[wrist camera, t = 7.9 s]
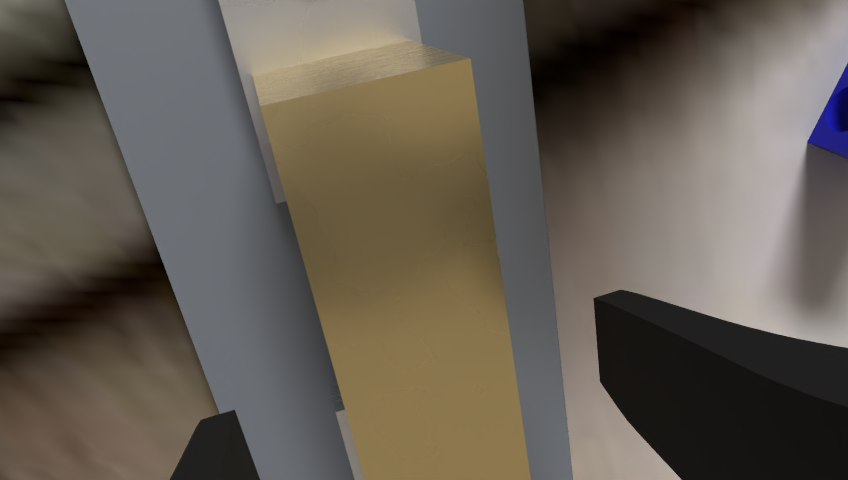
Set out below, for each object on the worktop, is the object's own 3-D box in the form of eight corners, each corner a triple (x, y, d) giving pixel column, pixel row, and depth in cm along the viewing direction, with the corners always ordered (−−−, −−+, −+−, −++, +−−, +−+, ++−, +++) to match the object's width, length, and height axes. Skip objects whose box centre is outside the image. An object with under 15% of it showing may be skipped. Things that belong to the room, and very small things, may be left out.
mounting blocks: (372, 539, 21) (381, 575, 19) (196, -81, 13) (192, -88, 12) (489, 497, 21) (505, 529, 20) (381, -112, 14) (396, -122, 13)
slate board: (285, 569, 22) (287, 594, 21) (36, -105, 13) (22, -112, 13) (560, 471, 23) (574, 490, 22) (487, -176, 15) (503, -186, 14)
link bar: (370, 496, 19) (403, 618, 15) (252, 74, 14) (260, 106, 10) (484, 456, 19) (543, 564, 16) (409, 40, 14) (470, 58, 11)
